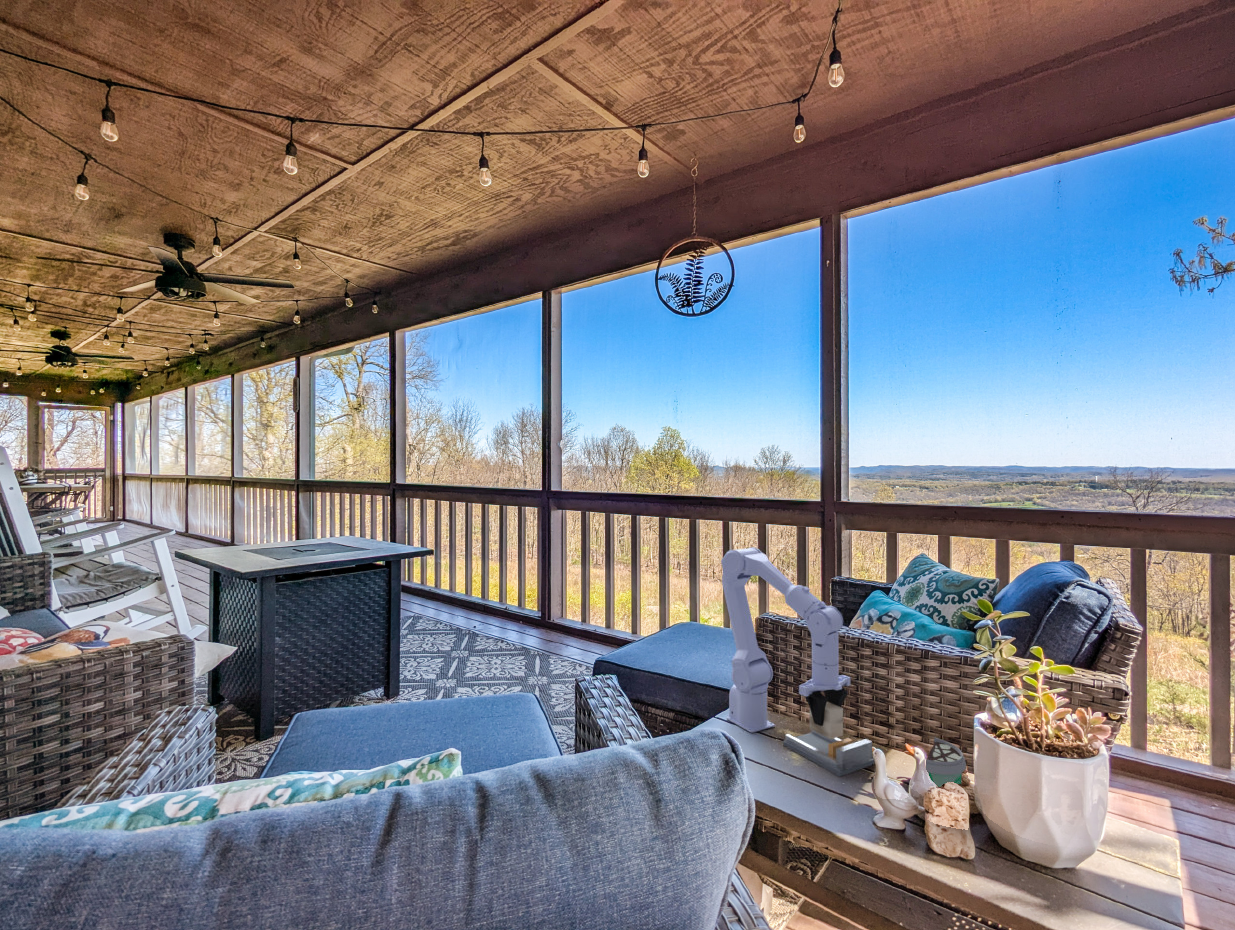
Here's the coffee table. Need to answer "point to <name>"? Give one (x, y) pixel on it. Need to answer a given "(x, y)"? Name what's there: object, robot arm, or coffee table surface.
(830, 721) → the birch block
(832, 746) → the block
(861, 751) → the rail board
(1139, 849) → the coffee table surface
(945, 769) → the food container
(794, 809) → the coffee table surface
